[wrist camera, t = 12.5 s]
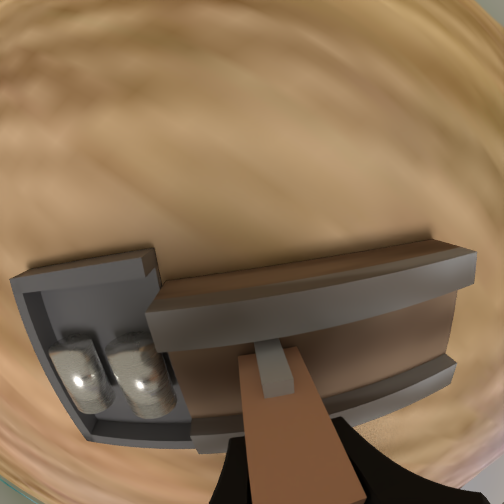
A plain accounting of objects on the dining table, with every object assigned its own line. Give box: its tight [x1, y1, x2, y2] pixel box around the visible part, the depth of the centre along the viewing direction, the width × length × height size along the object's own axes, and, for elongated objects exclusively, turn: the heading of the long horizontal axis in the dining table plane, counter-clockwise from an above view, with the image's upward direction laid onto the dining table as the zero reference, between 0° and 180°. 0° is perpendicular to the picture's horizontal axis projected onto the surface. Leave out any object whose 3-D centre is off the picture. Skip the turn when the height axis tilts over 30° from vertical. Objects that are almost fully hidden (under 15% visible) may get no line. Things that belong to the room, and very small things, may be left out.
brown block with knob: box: [238, 338, 367, 504], centre depth 9 cm, size 5×3×9 cm, turn 7°
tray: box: [9, 248, 196, 449], centre depth 14 cm, size 14×10×2 cm
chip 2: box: [105, 331, 178, 419], centre depth 14 cm, size 4×3×3 cm
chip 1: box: [49, 334, 116, 414], centre depth 13 cm, size 4×3×3 cm
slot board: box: [145, 239, 477, 454], centre depth 14 cm, size 10×18×4 cm, turn 97°
